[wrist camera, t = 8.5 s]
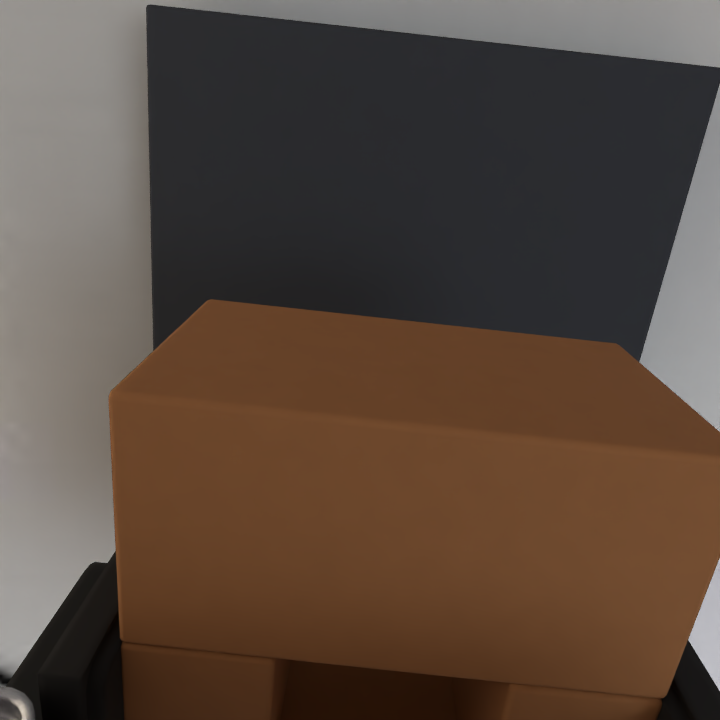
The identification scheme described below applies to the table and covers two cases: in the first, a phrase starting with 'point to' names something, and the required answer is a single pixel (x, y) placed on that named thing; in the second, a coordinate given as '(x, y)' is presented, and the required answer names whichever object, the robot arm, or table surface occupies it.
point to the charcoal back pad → (414, 175)
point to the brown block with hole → (403, 522)
